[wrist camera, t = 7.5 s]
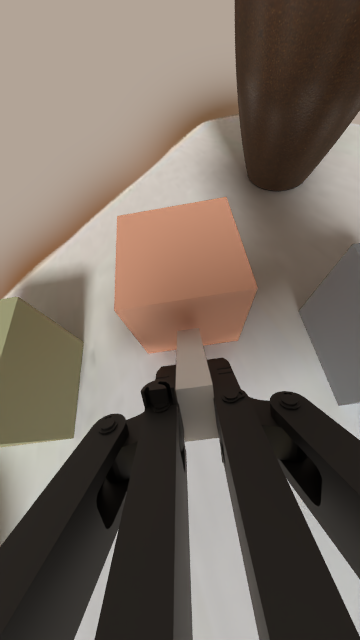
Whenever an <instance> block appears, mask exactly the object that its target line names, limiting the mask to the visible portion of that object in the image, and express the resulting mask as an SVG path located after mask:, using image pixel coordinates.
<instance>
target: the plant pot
mask: <svg viewBox="0 0 360 640" xmlns="http://www.w3.org/2000/svg"><path fill="white" fill-rule="evenodd" d="M235 53H236V76H237V92H238V105H239V117H240V128H241V136H242V144H243V150H244V157H245V163H246V168H247V174H248V177H249V179H250V181H251V182H252V183H253V184H255V185H256V186H258V187H260V188H263V189H267V190H274V191H281V190H288V189H292V188H294V187H297V186H299V185H300V184H301V183H303V181H304V180H305V179H306V178H307V177H308V176H309V175H310V174H311V172H312V171H313V170H314V169H315V168H316V166H317V165H318V164H319V163H320V162H321V160H322V159H323V158H324V157H325V155H326V154H327V153H328V152H329V150H330V149H331V148H332V147H333V145H334V144H335V143H336V142H337V140H338V139H339V138H340V136H341V135H342V134H343V132H344V131H345V130H346V128H347V127H348V126H349V124H350V123H351V122H352V120H353V119H354V118H355V116H356V115H357V113H358V112H359V111H360V0H235Z"/></svg>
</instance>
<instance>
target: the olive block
mask: <svg viewBox="0 0 360 640" xmlns="http://www.w3.org/2000/svg"><path fill="white" fill-rule="evenodd" d="M83 343H84V342H83V341H81V340H80V339H78V338H77V337H75V336H74V335H72V334H71V333H70V332H68V331H67V330H65V329H64V328H62V327H61V326H59V325H58V324H57V323H55V322H54V321H52V320H51V319H49V318H48V317H47V316H45V315H44V314H42V313H41V312H39V311H38V310H36V309H35V308H34V307H32V306H31V305H29V304H28V303H26V302H25V301H23V300H22V299H21V298H19V297H13V298H7V299H1V300H0V447H8V446H15V445H23V444H31V443H39V442H47V441H55V440H63V439H71V438H74V429H75V419H76V410H77V400H78V391H79V381H80V371H81V362H82V352H83Z"/></svg>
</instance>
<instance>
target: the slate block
mask: <svg viewBox="0 0 360 640" xmlns="http://www.w3.org/2000/svg"><path fill="white" fill-rule="evenodd" d="M299 313H300V316H301V318H302V320H303V323H304V325H305V327H306V330H307V332H308V335H309V337H310V339H311V342H312V344H313V346H314V349H315V351H316V354H317V356H318V358H319V361H320V363H321V365H322V368H323V370H324V372H325V375H326V377H327V380H328V382H329V384H330V387H331V389H332V391H333V394H334V396H335V398H336V401H337V403H338V406H340V405H348V404H356V403H360V243H358V244H352V245H351V247H350V248H349V249H348V250H347V252H346V253H345V254H344V255H343V257H342V258H341V259H340V260H339V262H338V263H337V264H336V265H335V267H334V268H333V269H332V270H331V272H330V273H329V274H328V275H327V277H326V278H325V279H324V280H323V282H322V283H321V284H320V285H319V286H318V288H317V289H316V290H315V291H314V293H313V294H312V295H311V296H310V298H309V299H308V300H307V301H306V303H305V304H304V305H303V306H302V308H301V309H300V310H299Z"/></svg>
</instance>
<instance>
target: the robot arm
mask: <svg viewBox="0 0 360 640" xmlns="http://www.w3.org/2000/svg"><path fill="white" fill-rule="evenodd" d="M141 394H142V398H143V402H144V406H145V411H144V412H143V413H142V414H140V415H138V416H136V417H133V418H131V419H128V420H126V419H125V417H124V416H123V415H121V414H110V415H107V416H105V417H103V418H101V419H100V420H98V421H97V422H96V423H95V424H94V425H93V427H92V428H91V429H90V431H89V432H88V433H87V435H86V436H85V437H84V438H83V440H82V441H81V442H80V444H79V445H78V446H77V448H76V449H75V450H74V451H73V453H72V454H71V455H70V457H69V458H68V459H67V461H66V462H65V463H64V465H63V466H62V467H61V468H60V470H59V471H58V472H57V474H56V475H55V476H54V478H53V479H52V480H51V481H50V483H49V484H48V485H47V487H46V488H45V489H44V491H43V492H42V493H41V495H40V496H39V497H38V498H37V500H36V501H35V502H34V504H33V505H32V506H31V508H30V509H29V510H28V512H27V513H26V514H25V515H24V517H23V518H22V519H21V521H20V522H19V523H18V525H17V526H16V527H15V528H14V530H13V531H12V532H11V534H10V535H9V536H8V538H7V539H6V540H5V542H4V543H3V544H2V545H1V547H0V640H74V638H75V635H76V633H77V631H78V628H79V626H80V623H81V621H82V618H83V616H84V613H85V611H86V608H87V606H88V603H89V601H90V598H91V596H92V593H93V591H94V588H95V586H96V583H97V581H98V578H99V576H100V573H101V571H102V568H103V566H104V563H105V561H106V558H107V556H108V554H109V551H110V549H111V546H112V544H113V541H114V539H115V536H116V534H117V531H118V535H117V539H116V544H115V549H114V553H113V558H112V562H111V567H110V572H109V576H108V581H107V585H106V590H105V595H104V599H103V604H102V608H101V613H100V618H99V622H98V627H97V631H96V636H95V640H193V636H192V607H191V578H190V549H189V520H188V491H187V462H186V449H185V444H184V438H185V442H186V441H195V440H203V439H212V438H219V439H220V447H221V455H222V463H224V467H225V472H226V477H227V482H228V487H229V492H230V497H231V502H232V507H233V512H234V517H235V522H236V527H237V531H238V536H239V541H240V546H241V551H242V556H243V561H244V566H245V571H246V576H247V581H248V586H249V591H250V596H251V600H252V605H253V610H254V615H255V620H256V625H257V630H258V635H259V640H360V636H359V634H358V632H357V630H356V628H355V626H354V624H353V621H352V619H351V617H350V615H349V613H348V611H347V608H346V606H345V604H344V602H343V600H342V598H341V595H340V593H339V591H338V589H337V587H336V585H335V583H334V580H333V578H332V576H331V574H330V572H329V570H328V567H327V565H326V563H325V561H324V559H323V557H322V555H321V552H320V550H319V548H318V546H317V544H316V542H315V539H314V537H313V535H312V533H311V531H310V529H309V527H308V524H307V522H306V520H305V518H304V516H303V514H302V511H301V509H300V507H299V505H298V503H297V501H296V499H295V496H294V494H293V492H292V490H291V488H290V486H289V483H290V484H291V485H292V487H293V488H294V489H295V491H296V492H297V494H298V495H299V496H300V498H301V499H302V500H303V502H304V503H305V505H306V506H307V507H308V509H309V510H310V511H311V513H312V514H313V516H314V517H315V518H316V520H317V521H318V522H319V524H320V525H321V527H322V528H323V529H324V531H325V532H326V533H327V535H328V536H329V538H330V539H331V540H332V542H333V543H334V544H335V546H336V547H337V549H338V550H339V551H340V553H341V554H342V555H343V557H344V558H345V559H346V561H347V562H348V564H349V565H350V566H351V568H352V569H353V570H354V572H355V573H356V575H357V576H358V577H359V579H360V440H359V439H357V438H356V437H355V436H353V435H352V434H351V433H350V432H348V431H347V430H346V429H344V428H343V427H342V426H341V425H339V424H338V423H337V422H335V421H334V420H333V419H332V418H330V417H329V416H328V415H326V414H325V413H324V412H323V411H321V410H320V409H319V408H317V407H316V406H315V405H314V404H312V403H311V402H310V401H308V400H307V399H306V398H304V397H303V396H301V395H299V394H297V393H293V392H287V391H282V392H277V393H275V394H273V395H272V396H271V398H270V401H264V400H257V399H253V398H250V397H248V395H247V394H246V393H245V391H243V390H241V389H240V386H239V384H238V382H237V379H236V377H235V375H234V373H233V370H232V368H231V366H230V364H229V362H228V361H227V360H226V359H224V358H217V359H210V360H206V356H205V352H204V347H203V343H202V339H201V335H200V331H199V328H195V329H188V330H181V331H177V357H176V365H171V366H163V367H161V368H160V369H159V370H158V371H157V374H156V379H155V381H152V382H150V383H148V384H147V385H145V386H144V387H143V389H142V390H141ZM286 478H287V479H286ZM287 480H288V481H289V483H288V481H287ZM118 529H119V530H118Z"/></svg>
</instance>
